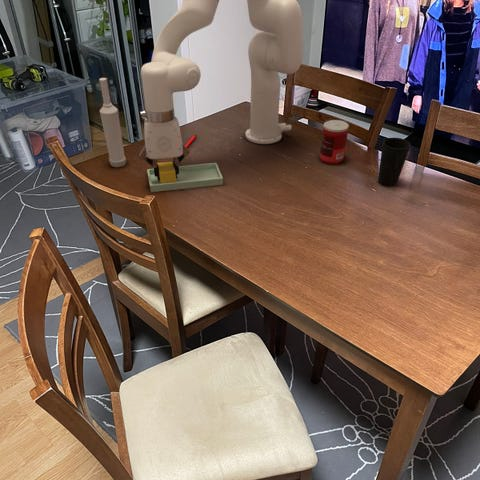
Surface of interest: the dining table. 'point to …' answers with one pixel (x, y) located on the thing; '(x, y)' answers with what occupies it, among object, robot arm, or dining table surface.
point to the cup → (392, 160)
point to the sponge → (167, 172)
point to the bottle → (111, 128)
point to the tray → (189, 178)
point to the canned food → (333, 141)
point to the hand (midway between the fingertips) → (167, 176)
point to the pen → (190, 141)
